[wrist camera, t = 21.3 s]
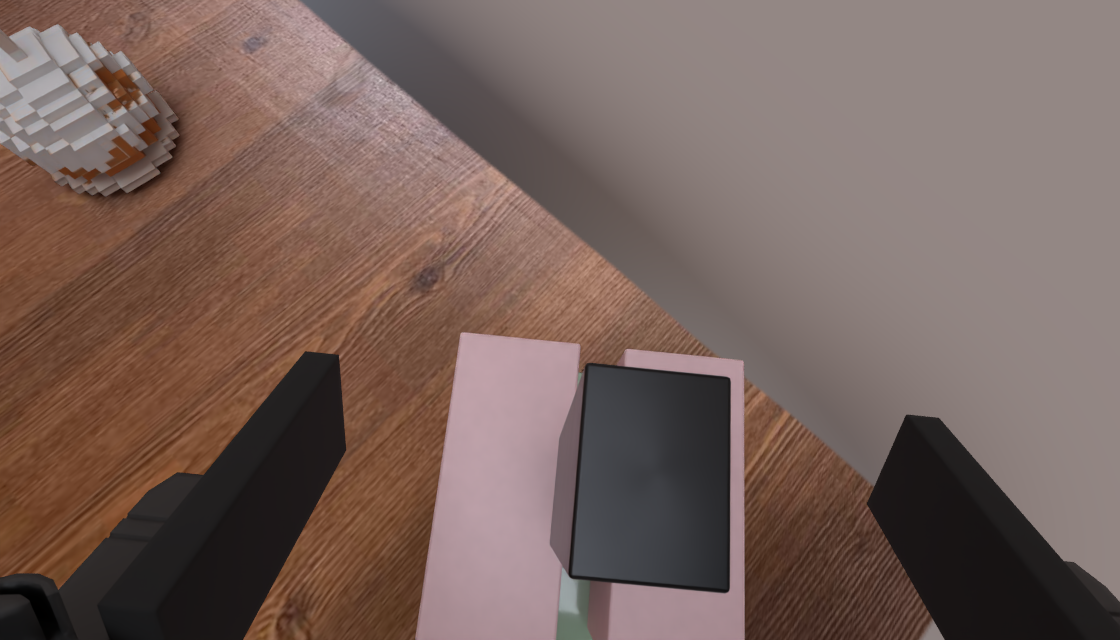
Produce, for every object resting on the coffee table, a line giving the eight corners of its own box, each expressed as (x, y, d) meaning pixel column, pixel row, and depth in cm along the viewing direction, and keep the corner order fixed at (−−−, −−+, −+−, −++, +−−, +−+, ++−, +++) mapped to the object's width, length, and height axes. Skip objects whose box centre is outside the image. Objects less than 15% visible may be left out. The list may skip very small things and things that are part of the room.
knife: (608, 454, 24) (732, 356, 9) (601, 551, 23) (730, 618, 8) (552, 449, 24) (586, 341, 9) (543, 546, 23) (566, 603, 8)
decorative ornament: (206, 154, 38) (14, -60, 24) (90, 222, 37) (-192, 36, 22) (145, 73, 40) (-69, -172, 26) (30, 135, 38) (-267, -90, 24)
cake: (696, 395, 25) (745, 359, 19) (690, 639, 22) (745, 682, 16) (477, 373, 25) (460, 331, 19) (443, 615, 22) (413, 651, 16)
